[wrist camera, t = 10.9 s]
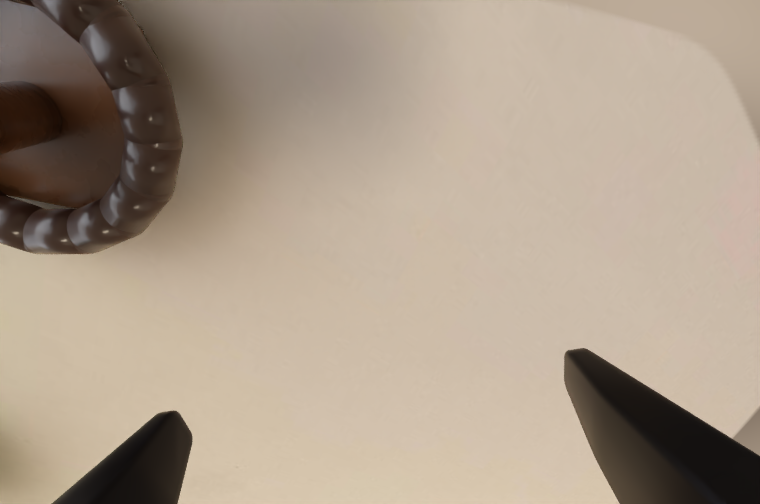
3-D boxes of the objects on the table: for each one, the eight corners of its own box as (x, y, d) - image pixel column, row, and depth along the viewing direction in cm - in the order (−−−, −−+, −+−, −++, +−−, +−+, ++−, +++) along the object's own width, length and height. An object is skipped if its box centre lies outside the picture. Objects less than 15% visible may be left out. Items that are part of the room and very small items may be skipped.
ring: (45, -150, 13) (-9, -183, 11) (242, 186, 18) (227, 201, 16) (-211, 16, 15) (-293, 11, 13) (32, 275, 20) (-2, 298, 18)
